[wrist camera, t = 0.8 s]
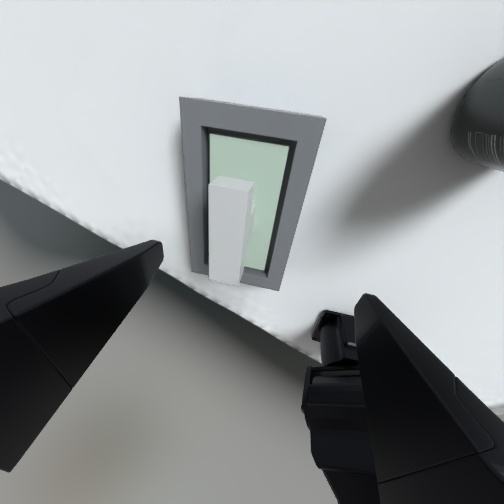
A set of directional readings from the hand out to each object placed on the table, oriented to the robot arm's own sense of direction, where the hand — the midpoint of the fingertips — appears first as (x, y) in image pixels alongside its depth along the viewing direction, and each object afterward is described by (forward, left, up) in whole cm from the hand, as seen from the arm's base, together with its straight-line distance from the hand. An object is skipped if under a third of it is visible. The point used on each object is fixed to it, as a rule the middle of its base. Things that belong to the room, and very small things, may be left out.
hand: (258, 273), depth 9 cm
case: (-2, +3, -13) cm, 14 cm away
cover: (-2, +3, -11) cm, 12 cm away
